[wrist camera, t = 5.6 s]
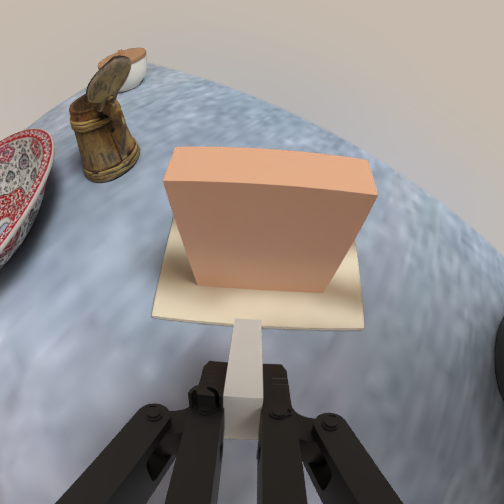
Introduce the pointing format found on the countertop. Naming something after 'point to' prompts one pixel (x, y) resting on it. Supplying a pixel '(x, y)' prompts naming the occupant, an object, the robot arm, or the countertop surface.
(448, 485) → the countertop surface
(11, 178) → the ceramic bowl
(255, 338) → the robot arm
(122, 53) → the lidded jar
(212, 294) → the cream cloth
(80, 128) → the wooden mug
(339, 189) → the ceramic tile
